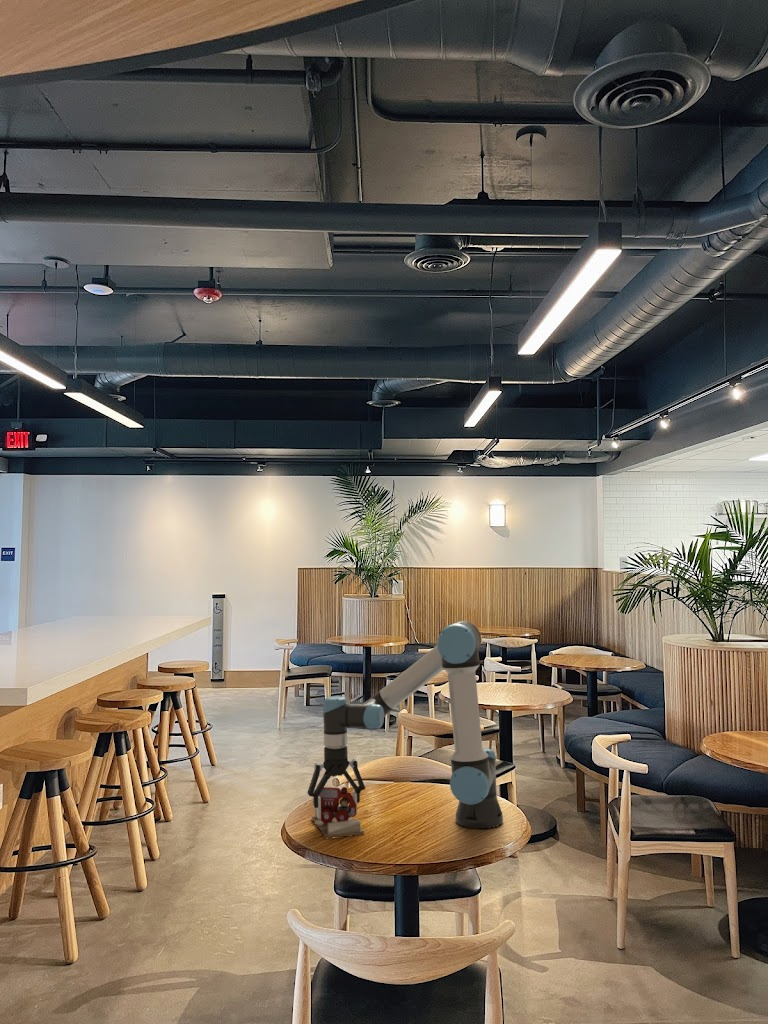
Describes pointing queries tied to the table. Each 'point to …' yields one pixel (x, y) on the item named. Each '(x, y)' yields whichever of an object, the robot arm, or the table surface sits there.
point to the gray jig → (339, 827)
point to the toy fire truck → (336, 804)
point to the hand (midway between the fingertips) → (337, 815)
